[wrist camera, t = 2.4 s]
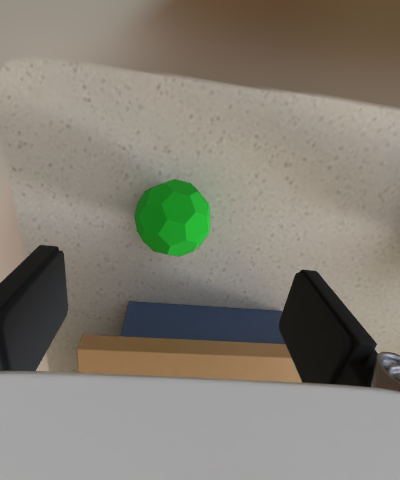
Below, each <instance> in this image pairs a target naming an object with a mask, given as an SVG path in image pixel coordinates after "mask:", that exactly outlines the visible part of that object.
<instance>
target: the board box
mask: <svg viewBox="0 0 400 480" xmlns="http://www.w3.org/2000/svg"><path fill="white" fill-rule="evenodd" d="M281 315H282V311H270V310H255V309H239V308H224V307H208V306H192V305H177V304H161V303H146V302H129V304H128V309H127V313H126V317H125V321H124V325H123V329H122V333H121V336H102V335H83V336H82V338H81V341H80V343H79V345H78V348H77V358H78V372H79V373H101V374H126V375H152V376H175V377H197V378H219V379H241V380H261V381H280V382H300V383H302V381H301V378H300V376H299V374H298V372H297V369H296V367H295V365H294V362H293V360H292V358H291V356H290V353H289V351H288V349H287V346H286V344H285V342H284V340H283V337H282V335H281V333H280V330H279V321H280V318H281Z"/></svg>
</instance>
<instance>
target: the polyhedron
mask: <svg viewBox="0 0 400 480" xmlns="http://www.w3.org/2000/svg"><path fill="white" fill-rule="evenodd" d="M135 222H136V228H137V232H138V234H139V235H140V237H141V238H142V240H143V241H144V242H145V243H146V244H147V245H148V246H149V247H150V248H151V249H152V250H153V251H155V252H159V253H164V254H168V255H174V256H182V255H185V254H187V253H190V252H193V251H194V250H195V249H196V248H198V247H199V246H200V245H201V244H202V242H203V241H204V239H205V238H206V237H207V235H208V234H209V232H210V206H209V204H208V202H207V201H206V200H205V199H204V197H203V196H202V195H201V194H200V193H199V191H198V190H197V189H196V188H195V187H194V186H193V185H192V184H191V183H187V182H183V181H179V180H175V179H174V180H171V181H168V182H166V183H163V184H161V185H158V186H156V187H153V188H151V189H149V190H146V191H145V192H144V194H143V196H142V197H141V199H140V201H139V203H138V205H137V208H136V212H135Z"/></svg>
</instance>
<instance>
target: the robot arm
mask: <svg viewBox="0 0 400 480" xmlns="http://www.w3.org/2000/svg"><path fill="white" fill-rule="evenodd" d="M67 311H68V301H67V288H66V276H65V263H64V253H63V251H59V249H58V247H56V246H45V245H40V246H39V247H38V248H36V249H35V250H34V251H33V252H32V253H31V254H30V255H29V256H28V257H27V258H26V259H25V260H24V261H23V262H22V263H21V264H20V265H19V266H18V267H17V268H16V269H15V270H14V271H13V272H12V273H10V274H9V275H8V276H7V277H6V278H5V279H4V280H3V281H2V282H1V283H0V480H400V355H398V354H395V353H391V352H381V353H379V354H378V353H377V352H376V351H375V347H376V345H377V344H376V342H375V341H374V340H373V339H372V338H371V336H370V335H369V334H368V333H367V331H366V330H365V329H364V328H363V327H362V325H361V324H360V323H359V322H358V321H357V319H356V318H355V317H354V316H353V315H352V313H351V312H350V311H349V310H348V309H347V307H346V306H345V305H344V304H343V302H342V301H341V300H340V299H339V298H338V296H337V295H336V294H335V293H334V292H333V290H332V289H331V288H330V287H329V286H328V284H327V283H326V282H325V281H324V280H323V278H322V277H321V276H320V275H319V273H318V272H316V271H310V270H301V271H300V272H299V273H296V275H295V277H294V280H293V283H292V286H291V289H290V292H289V295H288V298H287V301H286V303H285V306H284V309H283V312H282V315H281V318H280V321H279V330H280V333H281V335H282V337H283V340H284V342H285V344H286V346H287V349H288V351H289V353H290V356H291V358H292V360H293V362H294V365H295V367H296V369H297V372H298V374H299V376H300V378H301V381H302V383H300V382H280V381H261V380H241V379H219V378H197V377H175V376H152V375H126V374H101V373H75V372H45V371H36V369H37V367H38V365H39V364H40V362H41V360H42V358H43V357H44V355H45V353H46V351H47V349H48V348H49V346H50V344H51V342H52V340H53V339H54V337H55V335H56V333H57V331H58V330H59V328H60V326H61V324H62V323H63V321H64V319H65V317H66V315H67Z"/></svg>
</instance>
